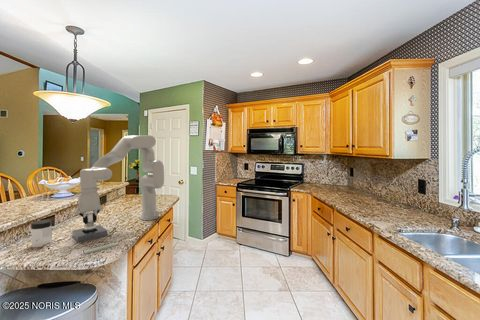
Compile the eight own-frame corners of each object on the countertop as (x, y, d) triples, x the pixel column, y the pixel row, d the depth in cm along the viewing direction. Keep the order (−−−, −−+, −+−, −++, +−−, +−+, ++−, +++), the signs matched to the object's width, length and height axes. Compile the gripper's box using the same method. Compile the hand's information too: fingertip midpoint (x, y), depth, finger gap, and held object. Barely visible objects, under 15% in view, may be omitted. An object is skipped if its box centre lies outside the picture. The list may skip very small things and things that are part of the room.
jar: (26, 248, 116) (25, 224, 115) (37, 242, 124) (36, 220, 123) (47, 246, 118) (46, 223, 117) (56, 240, 126) (55, 218, 125)
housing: (100, 231, 140) (100, 224, 140) (107, 237, 130) (107, 230, 130) (72, 237, 130) (72, 230, 130) (77, 244, 120) (77, 237, 120)
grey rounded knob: (94, 226, 134) (94, 211, 134) (97, 229, 130) (96, 213, 130) (83, 229, 130) (82, 213, 130) (85, 231, 126) (85, 215, 126)
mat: (109, 239, 127) (109, 237, 127) (117, 245, 119) (117, 244, 119) (79, 246, 117) (79, 245, 117) (85, 254, 109) (85, 252, 109)
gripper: (103, 188, 138) (104, 218, 139) (69, 192, 126) (70, 225, 127) (107, 189, 132) (108, 221, 133) (72, 193, 121) (73, 228, 121)
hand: (90, 222), depth 130 cm, fingers closed on grey rounded knob, 3 cm apart
